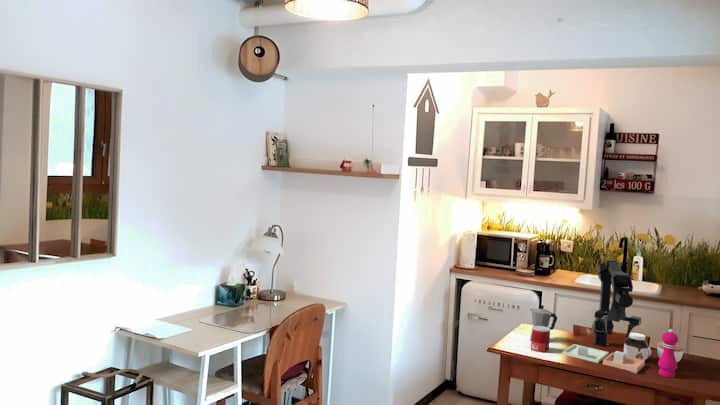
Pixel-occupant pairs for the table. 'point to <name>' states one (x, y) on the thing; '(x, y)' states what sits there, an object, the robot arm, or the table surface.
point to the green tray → (593, 354)
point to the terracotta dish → (625, 363)
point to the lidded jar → (677, 352)
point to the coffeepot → (542, 318)
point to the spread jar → (637, 346)
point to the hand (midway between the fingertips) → (616, 336)
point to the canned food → (540, 339)
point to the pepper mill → (668, 355)
